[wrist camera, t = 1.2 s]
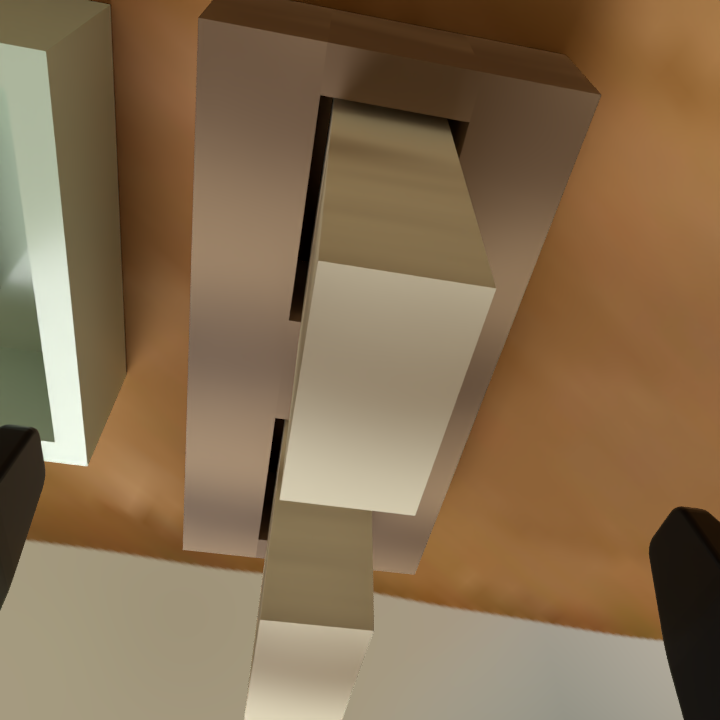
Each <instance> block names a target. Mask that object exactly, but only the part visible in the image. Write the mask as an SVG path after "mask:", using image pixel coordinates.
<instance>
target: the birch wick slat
mask: <svg viewBox="0 0 720 720" xmlns="http://www.w3.org/2000/svg"><path fill="white" fill-rule="evenodd" d="M495 291H496V286H495V282H494V279H493V275H492V272H491V268H490V265H489V261H488V258H487V255H486V251H485V248H484V244H483V241H482V237H481V234H480V230H479V227H478V224H477V220H476V217H475V213H474V210H473V206H472V203H471V199H470V196H469V192H468V189H467V186H466V182H465V179H464V175H463V172H462V168H461V165H460V161H459V158H458V155H457V151H456V148H455V144H454V141H453V137H452V134H451V130H450V127H449V123H448V120H447V118H442V117H437V116H431V115H426V114H421V113H415V112H410V111H404V110H399V109H393V108H388V107H382V106H377V105H371V104H366V103H361V102H355V101H350V100H344V99H339V98H333V99H332V106H331V113H330V119H329V126H328V132H327V139H326V146H325V152H324V159H323V166H322V172H321V179H320V185H319V192H318V199H317V205H316V212H315V219H314V225H313V232H312V238H311V245H310V252H309V260H308V268H307V276H306V285H305V293H304V301H303V310H302V318H301V326H300V335H299V343H298V351H297V359H296V368H295V376H294V384H293V393H292V401H291V409H290V417H289V426H288V434H287V442H286V451H285V459H284V467H283V476H282V484H281V492H280V500H285V501H293V502H302V503H310V504H319V505H328V506H336V507H345V508H353V509H362V510H370V511H379V512H387V513H396V514H404V515H413V516H415V515H416V512H417V509H418V506H419V503H420V501H421V498H422V495H423V492H424V489H425V487H426V484H427V481H428V478H429V475H430V473H431V470H432V467H433V464H434V461H435V459H436V456H437V453H438V450H439V447H440V445H441V442H442V439H443V436H444V433H445V431H446V428H447V425H448V422H449V420H450V417H451V414H452V411H453V408H454V406H455V403H456V400H457V397H458V394H459V392H460V389H461V386H462V383H463V380H464V378H465V375H466V372H467V369H468V366H469V364H470V361H471V358H472V355H473V352H474V350H475V347H476V344H477V341H478V338H479V336H480V333H481V330H482V327H483V324H484V322H485V319H486V316H487V313H488V310H489V308H490V305H491V302H492V299H493V296H494V294H495Z"/></svg>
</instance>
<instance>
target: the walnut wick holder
mask: <svg viewBox="0 0 720 720" xmlns="http://www.w3.org/2000/svg"><path fill="white" fill-rule="evenodd" d="M321 95H322V96H328V97H333V98H339V99H344V100H350V101H355V102H361V103H366V104H371V105H377V106H382V107H388V108H393V109H399V110H404V111H410V112H415V113H421V114H426V115H431V116H437V117H442V118H447V120H448V123H449V127H450V130H451V134H452V137H453V141H454V144H455V148H456V151H457V155H458V158H459V161H460V165H461V168H462V172H463V175H464V179H465V182H466V186H467V189H468V192H469V196H470V199H471V203H472V206H473V210H474V213H475V217H476V220H477V224H478V227H479V230H480V234H481V237H482V241H483V244H484V248H485V251H486V255H487V258H488V261H489V265H490V268H491V272H492V275H493V279H494V282H495V286H496V291H495V294H494V296H493V299H492V302H491V305H490V308H489V310H488V313H487V316H486V319H485V322H484V324H483V327H482V330H481V333H480V336H479V338H478V341H477V344H476V347H475V350H474V352H473V355H472V358H471V361H470V364H469V366H468V369H467V372H466V375H465V378H464V380H463V383H462V386H461V389H460V392H459V394H458V397H457V400H456V403H455V406H454V408H453V411H452V414H451V417H450V420H449V422H448V425H447V428H446V431H445V433H444V436H443V439H442V442H441V445H440V447H439V450H438V453H437V456H436V459H435V461H434V464H433V467H432V470H431V473H430V475H429V478H428V481H427V484H426V487H425V489H424V492H423V495H422V498H421V501H420V503H419V506H418V509H417V512H416V515H415V516H413V515H404V514H396V513H387V512H379V511H372V544H373V570H377V571H386V572H395V573H404V574H414V575H415V572H416V570H417V567H418V565H419V562H420V560H421V557H422V554H423V552H424V549H425V547H426V544H427V542H428V539H429V536H430V534H431V531H432V529H433V526H434V524H435V521H436V518H437V516H438V513H439V511H440V508H441V506H442V503H443V500H444V498H445V495H446V493H447V490H448V488H449V485H450V482H451V480H452V477H453V475H454V472H455V470H456V467H457V465H458V462H459V459H460V457H461V454H462V452H463V449H464V447H465V444H466V441H467V439H468V436H469V434H470V431H471V429H472V426H473V423H474V421H475V418H476V416H477V413H478V411H479V408H480V405H481V403H482V400H483V398H484V395H485V393H486V390H487V387H488V385H489V382H490V380H491V377H492V375H493V372H494V369H495V367H496V364H497V362H498V359H499V357H500V354H501V351H502V349H503V346H504V344H505V341H506V339H507V336H508V334H509V331H510V328H511V326H512V323H513V321H514V318H515V316H516V313H517V310H518V308H519V305H520V303H521V300H522V298H523V295H524V292H525V290H526V287H527V285H528V282H529V280H530V277H531V274H532V272H533V269H534V267H535V264H536V262H537V259H538V256H539V254H540V251H541V249H542V246H543V244H544V241H545V238H546V236H547V233H548V231H549V228H550V226H551V223H552V221H553V218H554V215H555V213H556V210H557V208H558V205H559V203H560V200H561V197H562V195H563V192H564V190H565V187H566V185H567V182H568V179H569V177H570V174H571V172H572V169H573V167H574V164H575V161H576V159H577V156H578V154H579V151H580V149H581V146H582V143H583V141H584V138H585V136H586V133H587V131H588V128H589V125H590V123H591V120H592V118H593V115H594V113H595V110H596V107H597V105H598V102H599V100H600V97H601V94H600V93H599V92H598V91H597V89H596V88H595V87H594V86H593V85H592V84H591V83H590V82H589V80H588V79H587V78H586V77H585V76H584V75H583V74H582V72H581V71H580V70H579V69H578V68H577V67H576V66H575V65H574V63H573V62H572V61H571V60H570V59H569V58H568V57H567V56H566V55H564V54H559V53H554V52H549V51H544V50H538V49H533V48H528V47H523V46H518V45H513V44H508V43H503V42H498V41H493V40H488V39H483V38H478V37H473V36H468V35H463V34H458V33H452V32H447V31H442V30H437V29H432V28H427V27H422V26H417V25H412V24H407V23H402V22H397V21H392V20H387V19H382V18H377V17H371V16H366V15H361V14H356V13H351V12H346V11H341V10H336V9H331V8H326V7H321V6H316V5H311V4H306V3H301V2H296V1H291V0H213V1H212V2H211V3H210V4H209V6H208V7H207V8H206V9H205V10H204V12H203V13H202V14H201V15H200V16H199V18H198V51H197V85H196V120H195V154H194V188H193V223H192V257H191V291H190V325H189V360H188V394H187V428H186V462H185V497H184V531H183V550H191V551H200V552H210V553H219V554H228V555H237V556H247V557H256V558H265V555H266V547H267V540H268V532H269V524H270V517H271V509H272V501H273V494H274V486H275V479H276V473H274V472H268V468H269V461H270V454H271V447H272V439H273V432H274V425H275V418H279V419H287V420H289V417H290V409H291V401H292V393H293V384H294V376H295V368H296V359H297V351H298V343H299V335H300V326H301V318H302V310H303V301H304V293H305V285H306V276H307V268H308V262H306V261H300V260H298V253H299V246H300V239H301V232H302V225H303V218H304V211H305V203H306V196H307V189H308V182H309V175H310V168H311V161H312V153H313V146H314V139H315V132H316V125H317V118H318V110H319V103H320V96H321Z"/></svg>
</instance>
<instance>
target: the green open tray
mask: <svg viewBox="0 0 720 720" xmlns="http://www.w3.org/2000/svg"><path fill="white" fill-rule="evenodd" d="M126 375H127V373H126V350H125V328H124V305H123V282H122V259H121V236H120V213H119V190H118V167H117V144H116V121H115V98H114V75H113V52H112V29H111V6H110V4H105V3H100V2H95V1H89V0H0V427H1V426H3V425H6V424H12V425H20V426H28V427H33V428H36V429H37V430H38V432H39V434H40V439H41V445H42V451H43V458H44V461H49V462H57V463H65V464H74V465H82V466H88V464H89V462H90V459H91V457H92V455H93V452H94V450H95V448H96V445H97V443H98V441H99V438H100V436H101V433H102V431H103V429H104V426H105V424H106V422H107V419H108V417H109V415H110V412H111V410H112V408H113V405H114V403H115V401H116V398H117V396H118V394H119V391H120V389H121V386H122V384H123V382H124V379H125V377H126Z"/></svg>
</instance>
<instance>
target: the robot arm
mask: <svg viewBox="0 0 720 720" xmlns="http://www.w3.org/2000/svg"><path fill="white" fill-rule="evenodd" d="M44 480H45V464H44V458H43V451H42V445H41V439H40V434H39V432H38V430H37V429H36V428H33V427H28V426H20V425H12V424H6V425H3V426H1V427H0V610H1V608H2V605H3V603H4V601H5V598H6V596H7V593H8V591H9V588H10V585H11V583H12V580H13V577H14V574H15V571H16V568H17V565H18V562H19V559H20V556H21V553H22V550H23V546H24V544H25V540H26V537H27V534H28V531H29V528H30V525H31V522H32V519H33V516H34V513H35V510H36V507H37V504H38V501H39V497H40V494H41V491H42V488H43V485H44ZM649 558H650V564H651V570H652V576H653V582H654V588H655V594H656V600H657V606H658V611H659V617H660V623H661V629H662V635H663V641H664V646H665V650H666V655H667V659H668V663H669V667H670V671H671V675H672V678H673V682H674V686H675V689H676V693H677V696H678V700H679V704H680V707H681V711H682V715H683V718H684V720H720V522H719V521H718V520H717V519H716V518H715V517H714V516H712V515H711V514H710V513H709V512H707V511H706V510H703V509H698V508H690V507H682V506H681V507H677V508H675V509H673V510H672V511H671V513H670V514H669V515H668V517H667V518H666V520H665V521H664V522H663V524H662V525H661V527H660V528H659V529H658V531H657V532H656V534H655V535H654V536H653V538H652V540H651V543H650V547H649Z"/></svg>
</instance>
